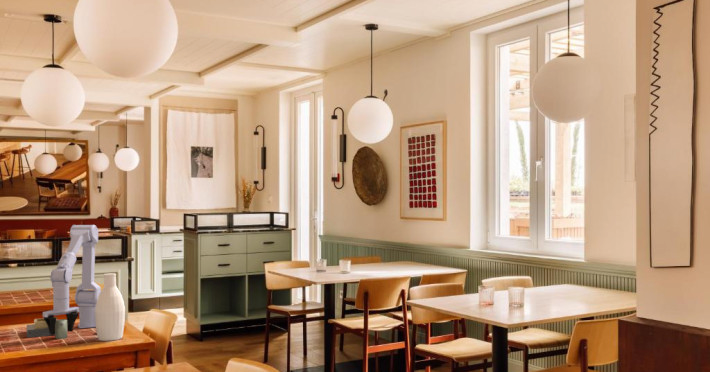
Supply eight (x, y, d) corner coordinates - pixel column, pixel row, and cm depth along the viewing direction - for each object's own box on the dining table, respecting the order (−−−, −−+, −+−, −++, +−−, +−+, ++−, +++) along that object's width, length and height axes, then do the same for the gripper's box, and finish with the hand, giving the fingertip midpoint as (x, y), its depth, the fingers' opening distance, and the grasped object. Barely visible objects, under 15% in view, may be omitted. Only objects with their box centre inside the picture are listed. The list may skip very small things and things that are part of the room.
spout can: (66, 336, 272) (66, 318, 272) (68, 339, 267) (68, 321, 267) (54, 337, 270) (54, 319, 270) (55, 340, 265) (55, 322, 265)
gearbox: (63, 329, 287) (63, 315, 287) (65, 334, 276) (65, 320, 276) (26, 332, 281) (26, 318, 281) (27, 337, 270) (27, 323, 270)
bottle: (107, 342, 259) (107, 276, 260) (89, 339, 265) (88, 274, 266) (131, 337, 269) (131, 273, 269) (113, 334, 275) (112, 271, 275)
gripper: (71, 295, 278) (71, 328, 277) (38, 300, 266) (38, 334, 265) (82, 296, 274) (82, 330, 273) (48, 301, 262) (48, 336, 261)
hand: (61, 332), depth 269 cm, fingers open, 7 cm apart
